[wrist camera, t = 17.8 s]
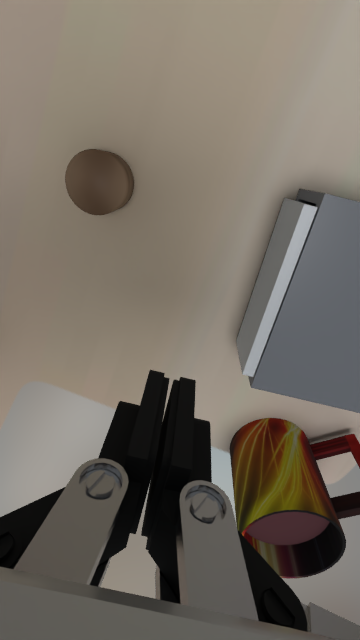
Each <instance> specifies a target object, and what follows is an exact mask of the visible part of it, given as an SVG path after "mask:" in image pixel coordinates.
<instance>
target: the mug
mask: <svg viewBox="0 0 360 640" xmlns="http://www.w3.org/2000/svg"><path fill="white" fill-rule="evenodd" d="M347 452H352V454H353V456H354V458H355V460H356V462H357V464H358V466H359V468H360V444H359V442H358V440H357V438H356V437H355V435H354V434H350V435H345V436H342V437H338V438H334V439H331V440H327V441H323V442H319V443H315V444H311V445H310V444H309V442H308V439H307V437H306V435H305V433H304V432H303V431H302V430H301V429H300V428H299V427H298V426H296V425H295V424H293V423H291V422H289V421H286V420H282V419H277V418H265V419H259V420H255V421H253V422H250V423H248V424H246V425H245V426H243V427H242V428H240V429H239V430H238V431H237V432H236V434H235V435H234V436H233V438H232V441H231V444H230V456H231V467H232V477H233V488H234V500H235V511H236V522H237V529H238V531H239V532H240V533H241V534H242V535H243V536H244V537H245V538H246V539H247V541H248V542H249V543H250V544H251V545H252V546H253V547H254V548H255V549H256V551H257V552H258V553H259V554H260V555H261V556H262V557H263V558H264V559H265V561H266V562H267V563H268V564H269V565H270V566H271V567H272V568H273V569H274V571H275V572H276V573H277V574H278V575H279V576H280V577H281V578H302V577H308V576H312V575H316V574H318V573H321V572H323V571H325V570H327V569H329V568H330V567H332V566H333V565H334V564H335V563H336V562H338V560H339V559H340V558H341V556H342V555H343V553H344V550H345V548H346V539H345V536H344V533H343V530H342V527H341V525H340V522H339V520H338V519H341V518H346V517H351V516H356V515H360V492H355V493H351V494H347V495H342V496H338V497H333V498H330V497H329V494H328V491H327V488H326V486H325V483H324V481H323V478H322V475H321V473H320V470H319V468H318V465H317V462H316V460H319V459H323V458H327V457H331V456H335V455H339V454H343V453H347Z"/></svg>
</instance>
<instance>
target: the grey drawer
mask: <svg viewBox="0 0 360 640" xmlns="http://www.w3.org/2000/svg"><path fill="white" fill-rule="evenodd" d="M317 208H318V207H315V206H311V205H308V204H305V203H302V202H299V201H295V200H291V199H288V198H284V201H283V204H282V207H281V210H280V213H279V216H278V219H277V222H276V225H275V228H274V231H273V234H272V236H271V239H270V242H269V245H268V248H267V251H266V254H265V257H264V260H263V263H262V266H261V269H260V272H259V275H258V278H257V281H256V284H255V287H254V290H253V293H252V296H251V299H250V302H249V304H248V307H247V310H246V313H245V316H244V319H243V322H242V325H241V328H240V331H239V334H238V337H237V340H236V343H237V349H238V354H239V359H240V365H241V370H242V374H243V375H247V376H251V377H253V376H254V373H255V371H256V368H257V365H258V363H259V360H260V358H261V355H262V352H263V350H264V347H265V344H266V342H267V339H268V337H269V334H270V331H271V329H272V326H273V323H274V321H275V318H276V316H277V313H278V310H279V308H280V305H281V302H282V300H283V297H284V295H285V292H286V289H287V287H288V284H289V281H290V279H291V276H292V273H293V271H294V268H295V266H296V263H297V260H298V258H299V255H300V252H301V250H302V247H303V245H304V242H305V239H306V237H307V234H308V231H309V229H310V226H311V224H312V221H313V218H314V216H315V213H316V210H317Z"/></svg>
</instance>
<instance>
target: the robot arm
mask: <svg viewBox="0 0 360 640" xmlns="http://www.w3.org/2000/svg"><path fill="white" fill-rule="evenodd" d="M195 383H196V382H195V380H192V379H187V378H183V377H180V380H179V381H178V380H174V381H173V385H172V388H171V392H170V396H169V400H168V403H167V407H166V411H165V415H164V418H163V414H164V408H165V402H166V396H167V390H168V384H169V378H165V377H164V373H162V372H157V371H153V370H150V371H149V375H148V379H147V382H146V386H145V390H144V393H143V397H142V401H141V404H140V406H139V405H135V404H131V403H126V402H122V401H120V402H119V404H118V406H117V409H116V412H115V414H114V417H113V420H112V423H111V425H110V428H109V431H108V433H107V436H106V439H105V441H104V444H103V447H102V449H101V452H100V455H99V458H98V459H93V460H90V461H87V462H86V463H84V464H82V465H81V466H80V467H79V468H78V469H77V471H76V472H75V473H74V475H73V477H72V478H71V480H70V481H69V483H68V484H67V486H66V487H64V488H62V489H60V490H58V491H56V492H54V493H51V494H49V495H47V496H45V497H43V498H41V499H39V500H36V501H34V502H32V503H30V504H28V505H26V506H24V507H21V508H20V509H17V510H15V511H13V512H11V513H9V514H7V515H4V516H2V517H0V640H360V626H359V625H357V624H355V623H353V622H351V621H349V620H347V619H345V618H342V617H340V616H338V615H336V614H334V613H332V612H330V611H328V610H326V609H323V608H322V607H319V606H317V605H315V604H313V603H311V602H310V603H309V604H308V606H307V605H305V604H303V603H301V602H300V600H299V599H298V597H297V596H296V595H295V593H294V592H293V591H292V589H291V588H290V587H289V586H288V585H287V584H286V583H285V582H284V581H283V579H282V578H281V577H280V576H279V575H278V574H277V573H276V572H275V571H274V569H273V568H272V567H271V566H270V565H269V564H268V563H267V562H266V561H265V559H264V558H263V557H262V556H261V555H260V554H259V553H258V552H257V551H256V549H255V548H254V547H253V546H252V545H251V544H250V543H249V542H248V541H247V539H246V538H245V537H244V536H243V535H242V534H241V533H240V532H239V531H238V529H237V526H236V522H235V518H234V514H233V509H232V505H231V503H230V500H229V498H228V496H227V495H226V494H225V492H224V491H223V490H221V489H220V488H219V487H218V486H217V485H215V484H213V483H211V482H212V481H211V439H210V422H209V421H205V420H200V419H196V418H194V407H195ZM162 420H163V422H162ZM150 480H151V481H150ZM149 484H150V487H149ZM148 487H149V493H148V499H147V504H146V510H145V516H144V522H143V527H142V534H141V535H142V536H146V537H148V539H147V545H146V549H147V550H149V551H148V552H149V554H150V555H151V557H152V558H153V560H154V561H155V563H156V564H157V566H156V572H155V586H156V599H153V598H149V597H144V596H139V595H135V594H129V593H125V592H120V591H115V590H111V589H105V588H101V587H100V586H101V584H102V581H103V579H104V576H105V573H106V571H107V568H108V566H109V563H110V558H111V557H112V556H114V555H115V554H117V553H118V552H119V551H121V550H123V549H124V548H126V545H127V542H128V538H129V534H130V533H133V534H136V531H137V528H138V524H139V520H140V517H141V513H142V509H143V506H144V502H145V498H146V494H147V491H148Z"/></svg>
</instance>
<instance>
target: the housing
mask: <svg viewBox="0 0 360 640" xmlns="http://www.w3.org/2000/svg"><path fill="white" fill-rule="evenodd" d="M295 201H299V202H302V203H305V204H308V205H311V206H315V207H318V208H317V210H316V213H315V216H314V218H313V221H312V224H311V226H310V229H309V231H308V234H307V237H306V239H305V242H304V245H303V247H302V250H301V252H300V255H299V258H298V260H297V263H296V266H295V268H294V271H293V273H292V276H291V279H290V281H289V284H288V287H287V289H286V292H285V295H284V297H283V300H282V302H281V305H280V308H279V310H278V313H277V316H276V318H275V321H274V323H273V326H272V329H271V331H270V334H269V337H268V339H267V342H266V344H265V347H264V350H263V352H262V355H261V358H260V360H259V363H258V365H257V368H256V371H255V373H254V376H253V377H251V376H249V381H250V386H251V388H255V389H259V390H264V391H268V392H272V393H276V394H281V395H285V396H289V397H294V398H298V399H302V400H306V401H311V402H315V403H319V404H323V405H328V406H332V407H336V408H340V409H345V410H349V411H353V412H358V413H360V202H357V201H353V200H349V199H345V198H341V197H337V196H333V195H329V194H325V193H320V192H314V191H309V190H303V189H299V192H298V195H297V198H296V200H295Z"/></svg>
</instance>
